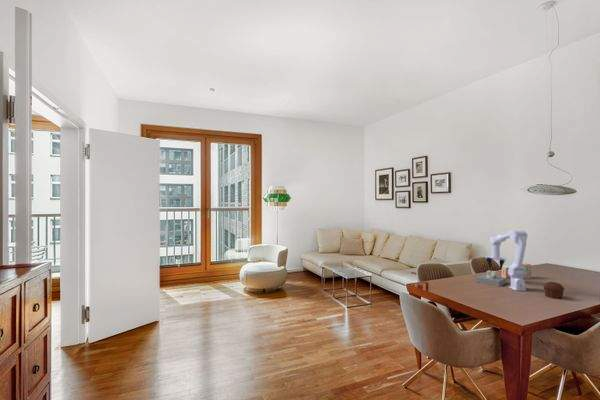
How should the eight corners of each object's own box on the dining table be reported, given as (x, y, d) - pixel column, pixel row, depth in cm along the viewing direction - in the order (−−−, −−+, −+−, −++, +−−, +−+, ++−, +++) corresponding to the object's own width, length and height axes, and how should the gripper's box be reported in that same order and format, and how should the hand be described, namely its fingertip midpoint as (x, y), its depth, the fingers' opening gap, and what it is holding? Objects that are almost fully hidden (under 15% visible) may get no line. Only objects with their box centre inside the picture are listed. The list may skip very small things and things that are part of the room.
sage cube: (496, 277, 245) (496, 271, 245) (493, 278, 242) (493, 272, 242) (489, 276, 249) (489, 270, 249) (486, 277, 246) (486, 271, 246)
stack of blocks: (505, 278, 258) (505, 264, 258) (501, 276, 264) (501, 262, 264) (531, 278, 258) (531, 264, 258) (526, 276, 264) (526, 262, 264)
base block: (506, 282, 244) (506, 277, 244) (499, 286, 234) (498, 281, 234) (484, 278, 257) (484, 274, 257) (476, 282, 247) (476, 277, 247)
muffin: (566, 300, 201) (566, 285, 201) (545, 298, 207) (545, 283, 207) (561, 295, 211) (561, 281, 211) (541, 293, 217) (541, 279, 217)
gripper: (507, 252, 248) (507, 268, 248) (487, 250, 259) (487, 265, 259) (504, 253, 243) (504, 270, 243) (484, 251, 255) (484, 267, 255)
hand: (495, 268), depth 251 cm, fingers open, 7 cm apart
